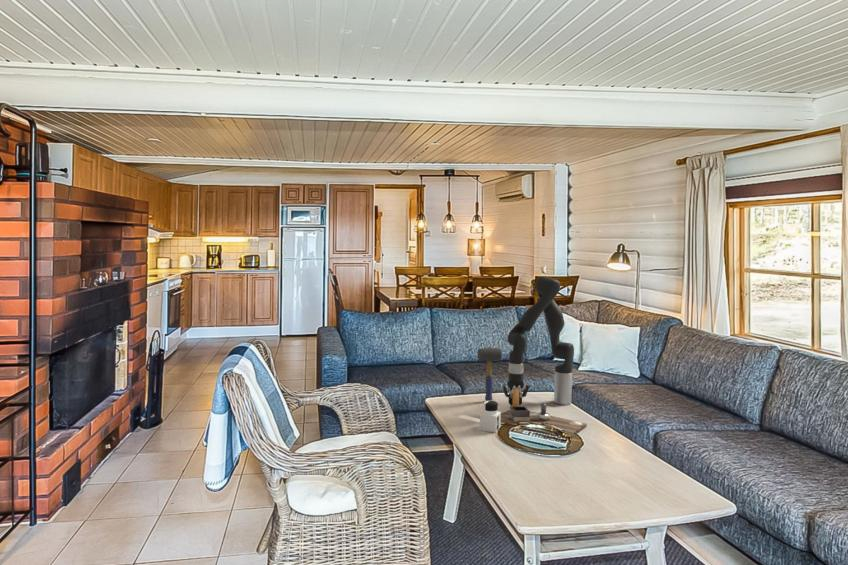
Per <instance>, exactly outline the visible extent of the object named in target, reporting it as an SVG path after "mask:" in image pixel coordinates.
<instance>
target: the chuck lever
mask: <svg viewBox="0 0 848 565" xmlns="http://www.w3.org/2000/svg"><path fill="white" fill-rule="evenodd" d="M509 410H510V418H511V419H512V420H513V421H514V422H530V420H549V419H550V416H551V414H550V413H548V412H547V403H545V402H542V403H541V405H540V412H536V413H530V411H531V410H530V409H528V408H527V407H526V406H525V405H519V406H512V407H511V406H509Z"/></svg>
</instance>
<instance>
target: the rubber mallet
mask: <svg viewBox="0 0 848 565" xmlns="http://www.w3.org/2000/svg"><path fill="white" fill-rule="evenodd" d="M502 357H503V353H502V348H500V347H482V348H478V350H477V360H478V361H479V362H486V376H485V398H484V400H485V401H493V375H492V366H493V365H492V364H493V362H500V361H501V360H502V359H503V358H502Z"/></svg>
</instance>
